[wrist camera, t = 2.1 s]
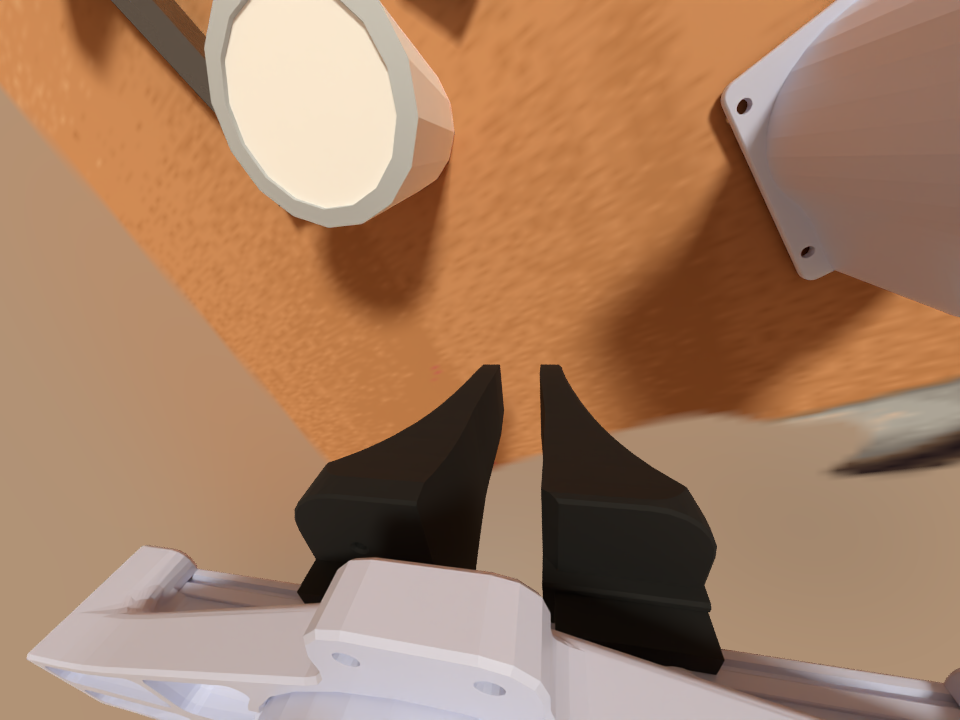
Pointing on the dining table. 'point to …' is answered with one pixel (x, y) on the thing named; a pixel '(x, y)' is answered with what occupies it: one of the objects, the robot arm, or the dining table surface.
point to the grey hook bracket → (172, 39)
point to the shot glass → (326, 105)
